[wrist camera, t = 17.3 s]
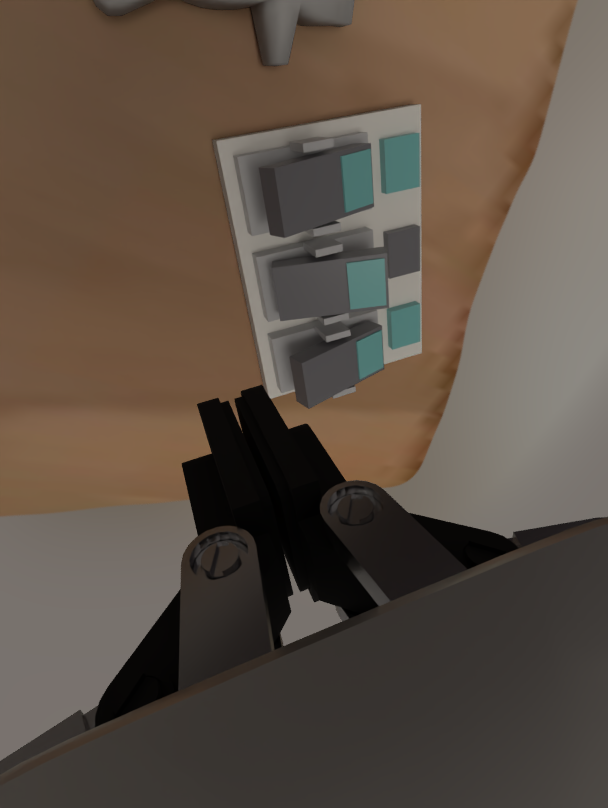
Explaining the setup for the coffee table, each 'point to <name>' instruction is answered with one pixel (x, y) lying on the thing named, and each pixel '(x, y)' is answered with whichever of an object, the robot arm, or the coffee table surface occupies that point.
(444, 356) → the coffee table surface
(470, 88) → the coffee table surface
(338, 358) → the rocker
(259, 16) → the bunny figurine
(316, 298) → the rocker middle
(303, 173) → the rocker nearest
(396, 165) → the switch unit
